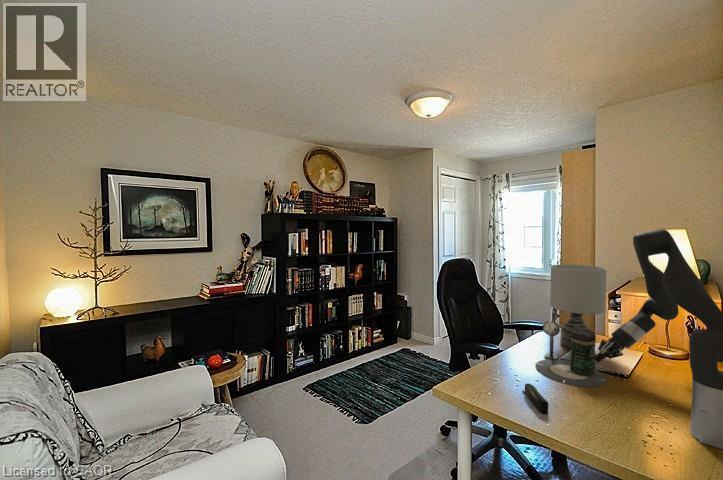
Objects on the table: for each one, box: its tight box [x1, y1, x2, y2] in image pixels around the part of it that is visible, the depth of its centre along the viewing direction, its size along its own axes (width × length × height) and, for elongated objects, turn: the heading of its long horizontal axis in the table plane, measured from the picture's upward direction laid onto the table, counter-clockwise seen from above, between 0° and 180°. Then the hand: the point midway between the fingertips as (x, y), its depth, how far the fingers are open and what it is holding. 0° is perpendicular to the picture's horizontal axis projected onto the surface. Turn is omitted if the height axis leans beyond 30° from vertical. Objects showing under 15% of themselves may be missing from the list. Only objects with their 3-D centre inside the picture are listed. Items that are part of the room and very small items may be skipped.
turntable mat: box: [534, 359, 607, 388], centre depth 140 cm, size 26×26×1 cm
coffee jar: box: [570, 329, 597, 376], centre depth 138 cm, size 10×8×19 cm
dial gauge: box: [542, 320, 561, 360], centre depth 154 cm, size 5×7×18 cm
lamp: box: [549, 264, 607, 351], centre depth 167 cm, size 24×24×42 cm
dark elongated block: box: [521, 383, 549, 415], centre depth 116 cm, size 5×3×15 cm
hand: (595, 360), depth 138 cm, fingers closed
